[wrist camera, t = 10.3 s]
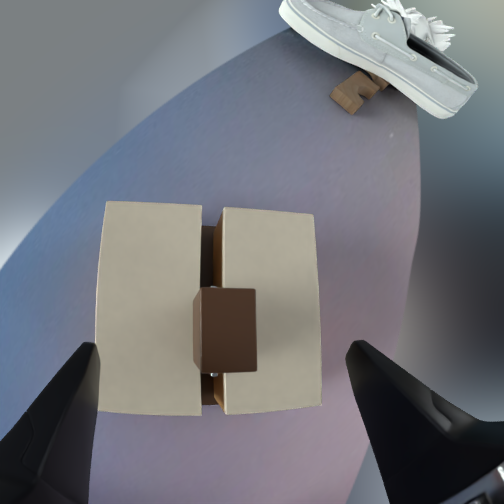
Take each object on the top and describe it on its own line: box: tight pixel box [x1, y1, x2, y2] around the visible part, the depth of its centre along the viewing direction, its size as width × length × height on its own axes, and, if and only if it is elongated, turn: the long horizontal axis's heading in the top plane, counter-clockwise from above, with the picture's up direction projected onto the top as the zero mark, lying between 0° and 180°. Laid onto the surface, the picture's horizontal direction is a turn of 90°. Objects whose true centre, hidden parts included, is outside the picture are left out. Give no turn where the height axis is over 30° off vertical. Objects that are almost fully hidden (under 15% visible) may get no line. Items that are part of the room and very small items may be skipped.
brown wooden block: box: [193, 286, 257, 377], centre depth 15 cm, size 4×2×9 cm, turn 1°
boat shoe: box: [279, 0, 478, 119], centre depth 26 cm, size 25×9×8 cm, turn 65°
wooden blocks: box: [330, 69, 390, 115], centre depth 32 cm, size 30×3×7 cm
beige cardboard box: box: [95, 201, 322, 416], centre depth 18 cm, size 12×12×5 cm
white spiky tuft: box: [371, 0, 455, 52], centre depth 29 cm, size 11×12×8 cm
